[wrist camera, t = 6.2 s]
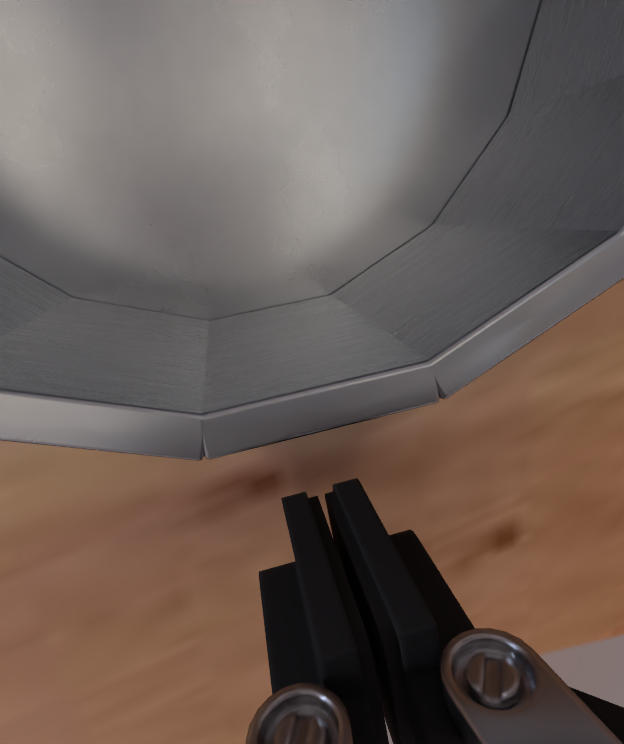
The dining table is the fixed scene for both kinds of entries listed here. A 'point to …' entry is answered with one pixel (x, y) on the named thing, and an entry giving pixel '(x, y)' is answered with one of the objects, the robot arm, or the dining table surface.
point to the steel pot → (292, 208)
